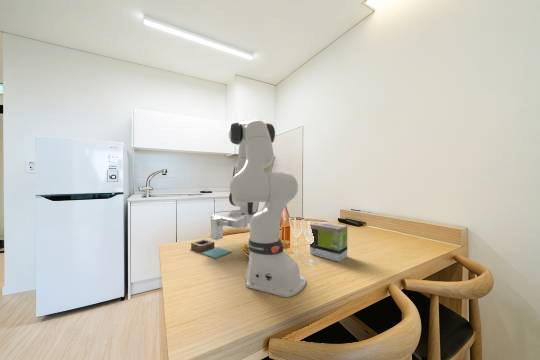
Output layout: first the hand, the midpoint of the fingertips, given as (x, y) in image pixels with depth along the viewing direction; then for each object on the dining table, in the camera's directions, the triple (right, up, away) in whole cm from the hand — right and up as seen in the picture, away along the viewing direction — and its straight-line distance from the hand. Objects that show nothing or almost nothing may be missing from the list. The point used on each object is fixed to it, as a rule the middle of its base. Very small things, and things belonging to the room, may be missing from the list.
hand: (215, 223), depth 98 cm
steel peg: (0, -7, +1) cm, 8 cm away
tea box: (+55, -15, -1) cm, 57 cm away
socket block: (-8, -14, +7) cm, 18 cm away
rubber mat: (0, -15, +1) cm, 15 cm away
